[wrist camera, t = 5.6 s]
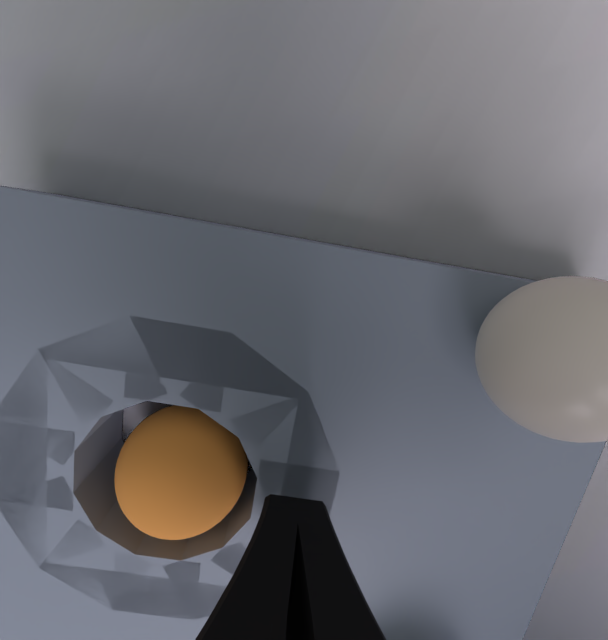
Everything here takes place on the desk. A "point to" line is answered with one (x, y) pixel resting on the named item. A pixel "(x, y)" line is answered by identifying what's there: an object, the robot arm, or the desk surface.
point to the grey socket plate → (260, 423)
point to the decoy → (549, 357)
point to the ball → (179, 473)
